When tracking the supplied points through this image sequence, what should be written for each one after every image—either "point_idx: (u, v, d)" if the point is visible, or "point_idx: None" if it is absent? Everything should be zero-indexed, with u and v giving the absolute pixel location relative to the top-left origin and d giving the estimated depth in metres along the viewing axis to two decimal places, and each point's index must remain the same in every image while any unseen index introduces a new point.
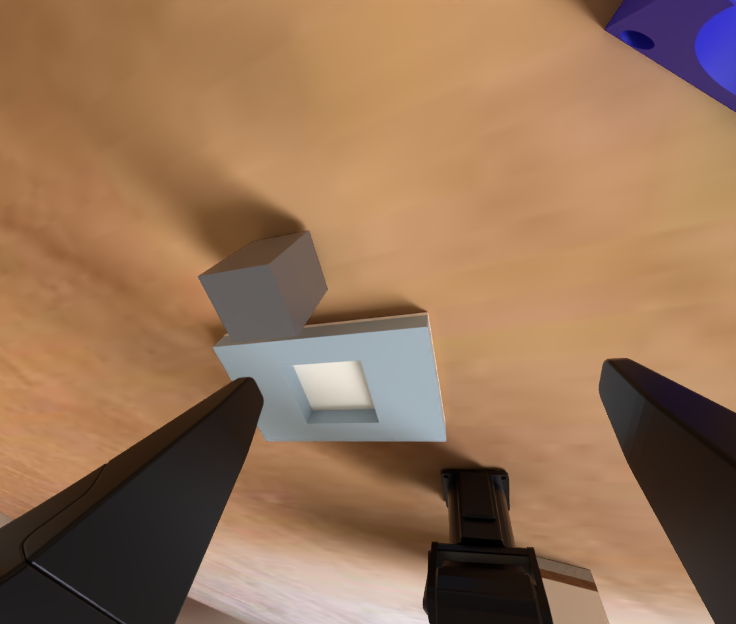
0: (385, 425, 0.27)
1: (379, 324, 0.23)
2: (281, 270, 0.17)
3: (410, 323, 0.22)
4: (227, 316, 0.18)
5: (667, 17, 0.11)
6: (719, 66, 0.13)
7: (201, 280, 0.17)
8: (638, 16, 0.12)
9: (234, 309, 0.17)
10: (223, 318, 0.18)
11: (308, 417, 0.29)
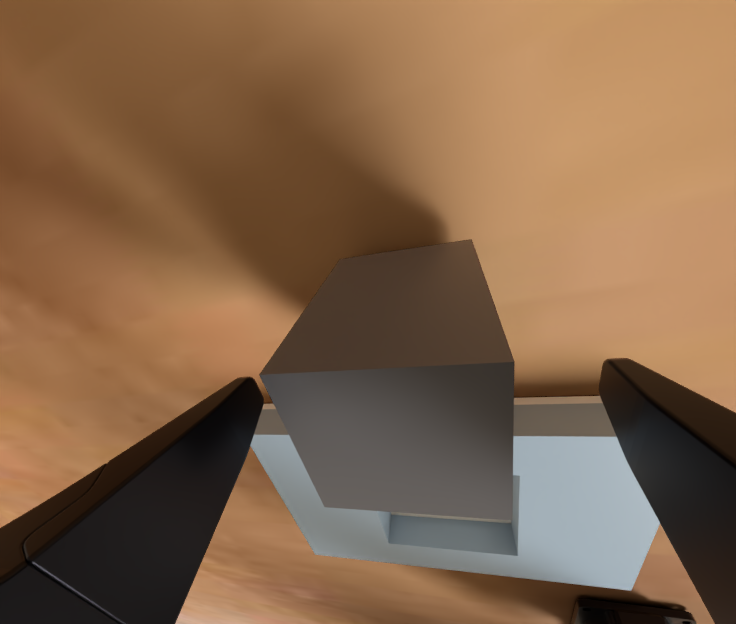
0: (527, 560, 0.16)
1: (568, 416, 0.12)
2: None
3: None
4: (325, 464, 0.07)
5: None
6: None
7: (269, 385, 0.06)
8: None
9: (349, 453, 0.07)
10: (313, 466, 0.07)
11: (389, 531, 0.19)
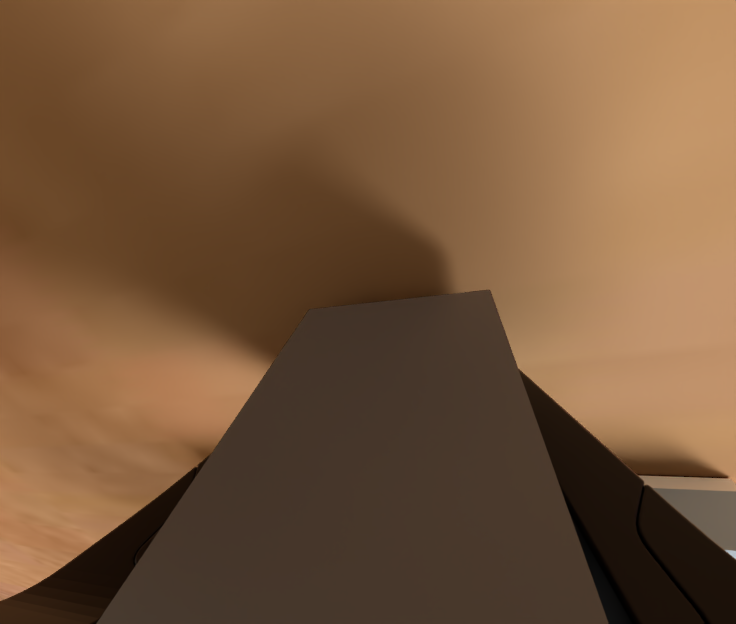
0: None
1: None
2: None
3: (715, 524, 0.09)
4: None
5: None
6: None
7: None
8: None
9: None
10: None
11: None
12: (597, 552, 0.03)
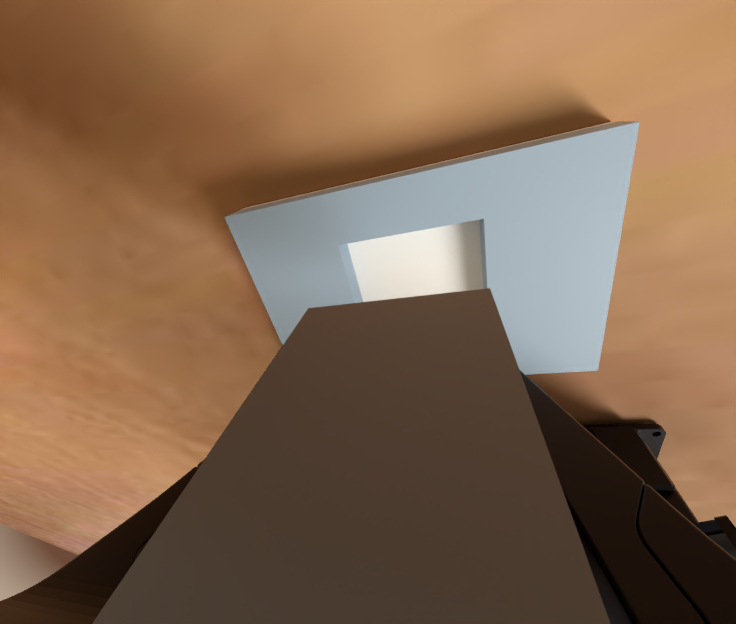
0: None
1: (526, 144, 0.13)
2: None
3: (593, 129, 0.12)
4: None
5: None
6: None
7: None
8: None
9: None
10: None
11: None
12: (597, 552, 0.03)
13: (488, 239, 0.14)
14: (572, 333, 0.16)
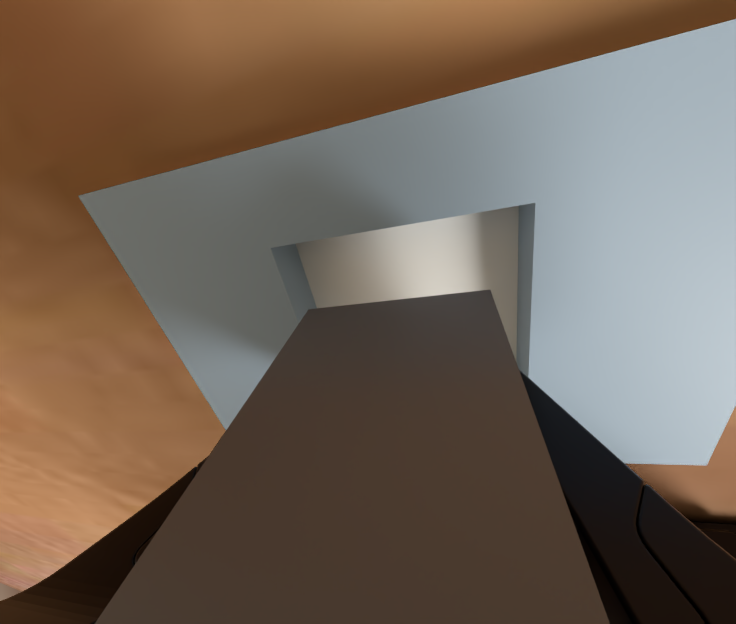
0: None
1: None
2: None
3: None
4: None
5: None
6: None
7: None
8: None
9: None
10: None
11: None
12: (597, 552, 0.03)
13: (540, 243, 0.08)
14: (673, 408, 0.09)
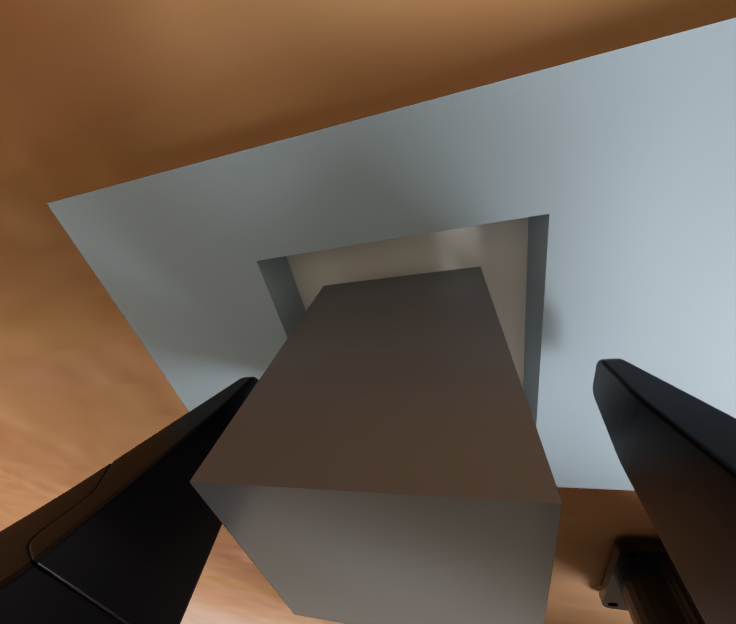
0: (552, 446, 0.10)
1: None
2: None
3: None
4: (291, 577, 0.05)
5: None
6: None
7: (204, 493, 0.04)
8: None
9: (321, 571, 0.05)
10: (275, 577, 0.05)
11: None
12: None
13: (553, 257, 0.07)
14: None
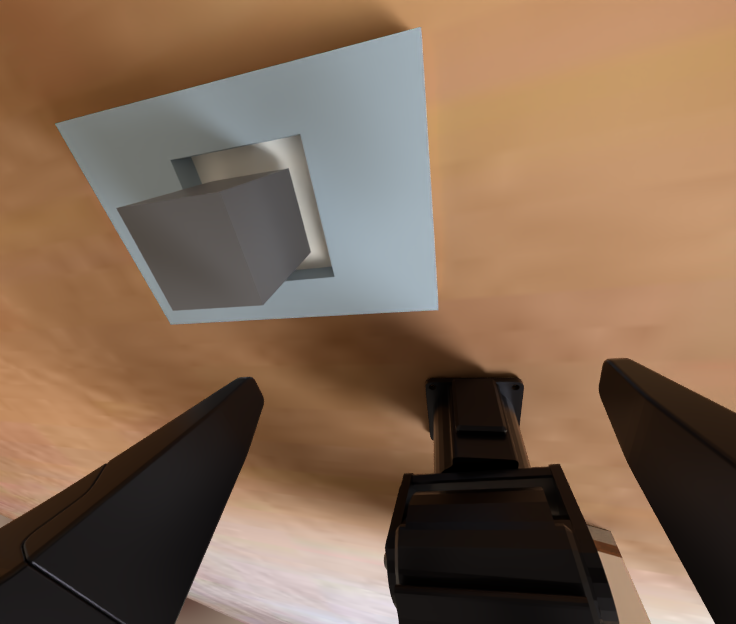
0: (344, 282, 0.17)
1: None
2: (241, 207, 0.11)
3: None
4: (163, 272, 0.13)
5: None
6: None
7: (122, 215, 0.11)
8: None
9: (172, 262, 0.12)
10: (158, 275, 0.13)
11: None
12: None
13: (309, 158, 0.14)
14: (407, 267, 0.16)
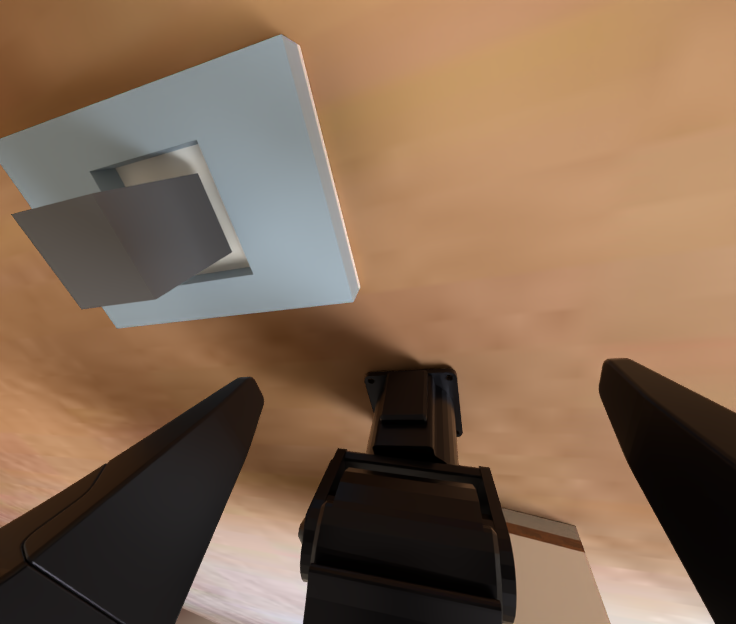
0: (263, 279, 0.18)
1: None
2: (124, 208, 0.12)
3: None
4: (64, 272, 0.13)
5: None
6: None
7: (17, 220, 0.12)
8: None
9: (69, 262, 0.13)
10: (60, 275, 0.14)
11: None
12: None
13: (209, 162, 0.15)
14: (316, 261, 0.17)
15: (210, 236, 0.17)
